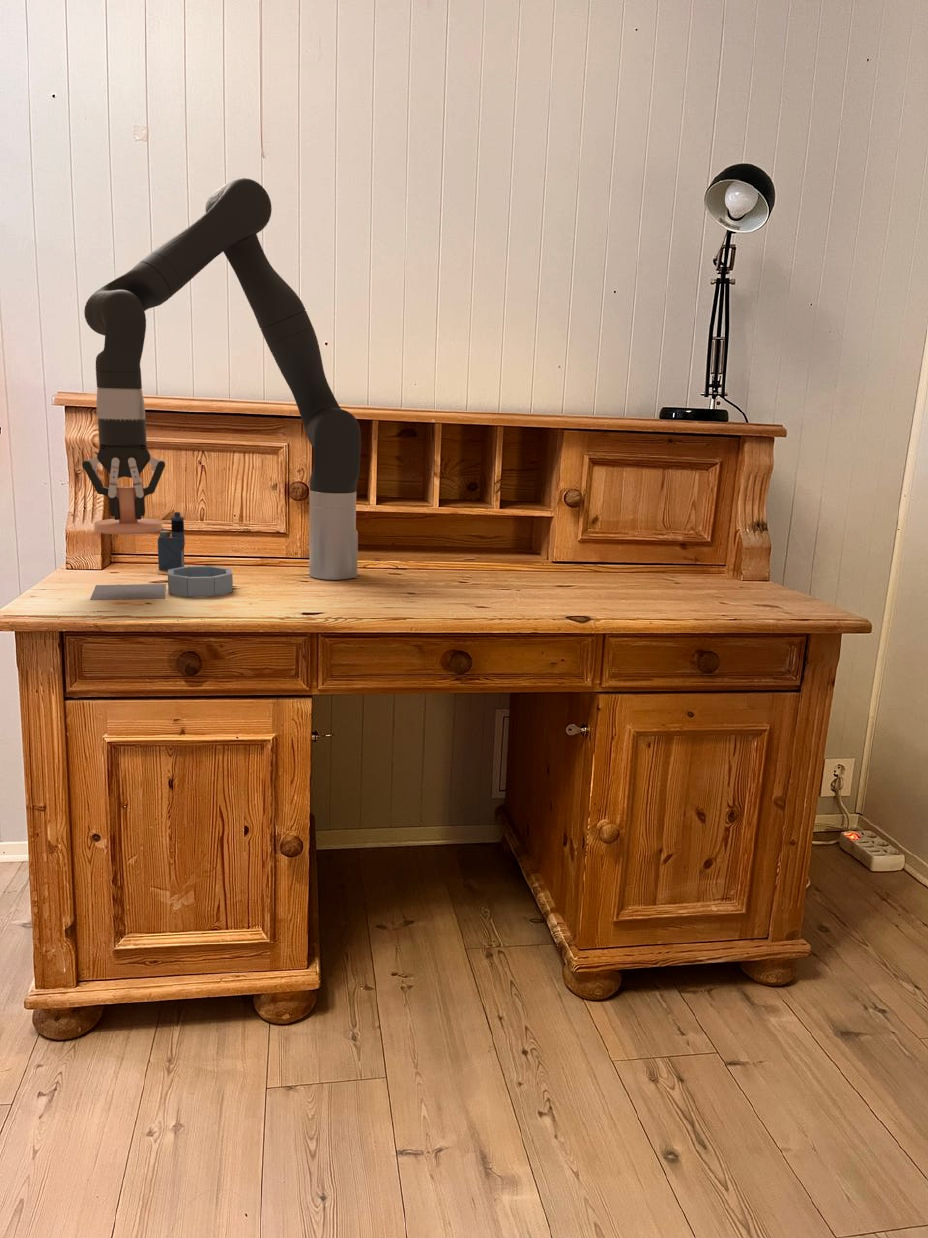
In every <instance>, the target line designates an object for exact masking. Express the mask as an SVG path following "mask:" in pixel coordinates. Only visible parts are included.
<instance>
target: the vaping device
mask: <svg viewBox="0 0 928 1238" xmlns="http://www.w3.org/2000/svg"><path fill="white" fill-rule="evenodd" d="M173 514H174V516H171V517H170V521H171V522H170V523H171V531H170V530H160V531H159V535H158V538H157V558H158V559H157V561H158V563H157V564H158V566H157V567H158V570H159V571H167V572H168V570H169V569H174V568H179V567H185V546H186V541H185V540H186V539H185V521H184V520H185V518H184V516H181V512H180V511H178V512H177V511H175V512H174V513H173Z"/></svg>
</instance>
